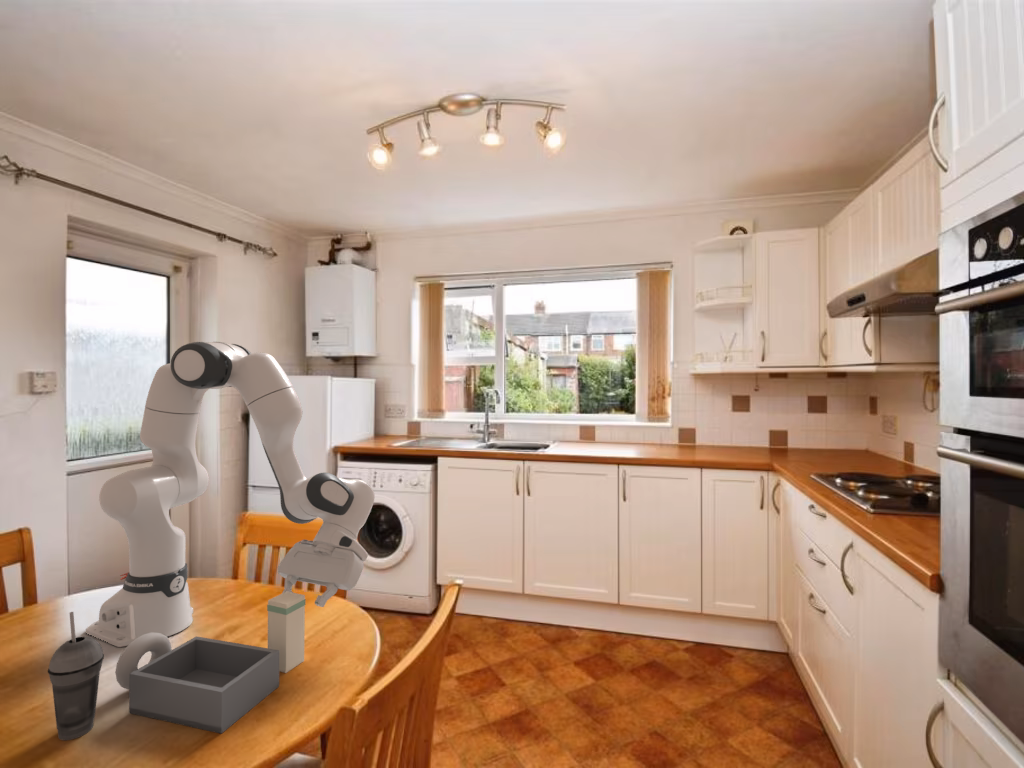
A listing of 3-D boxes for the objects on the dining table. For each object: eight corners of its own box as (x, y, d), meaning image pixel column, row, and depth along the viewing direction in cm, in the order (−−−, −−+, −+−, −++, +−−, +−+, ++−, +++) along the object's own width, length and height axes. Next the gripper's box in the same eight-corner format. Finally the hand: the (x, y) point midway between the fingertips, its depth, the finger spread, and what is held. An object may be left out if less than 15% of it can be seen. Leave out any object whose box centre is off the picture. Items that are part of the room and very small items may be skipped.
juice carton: (266, 667, 106) (267, 600, 106) (286, 655, 111) (286, 591, 111) (285, 673, 104) (286, 604, 104) (304, 660, 109) (305, 594, 109)
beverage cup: (70, 749, 82) (72, 625, 82) (34, 742, 84) (36, 620, 84) (114, 720, 89) (115, 605, 89) (80, 714, 91) (81, 601, 91)
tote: (129, 712, 91) (129, 673, 91) (196, 670, 105) (196, 636, 105) (221, 733, 86) (221, 692, 86) (279, 686, 100) (279, 650, 100)
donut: (122, 703, 94) (123, 649, 94) (110, 699, 95) (111, 645, 95) (175, 674, 103) (176, 625, 103) (163, 670, 105) (164, 622, 105)
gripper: (291, 532, 122) (257, 588, 113) (362, 542, 115) (331, 603, 105) (305, 545, 126) (273, 600, 117) (374, 556, 119) (345, 615, 110)
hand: (301, 602), depth 111 cm, fingers open, 8 cm apart
